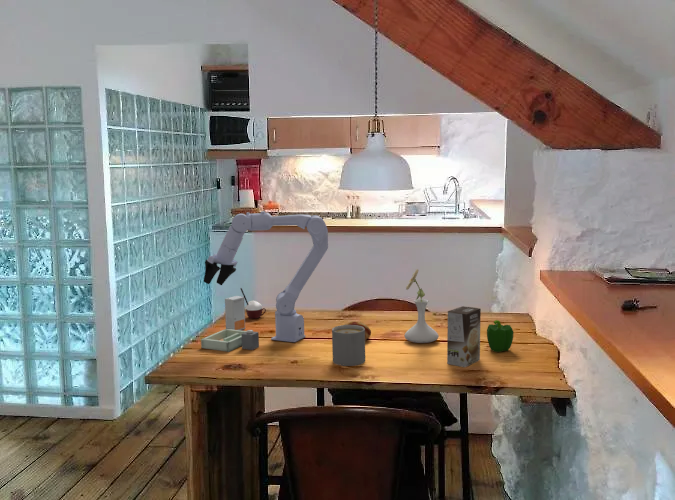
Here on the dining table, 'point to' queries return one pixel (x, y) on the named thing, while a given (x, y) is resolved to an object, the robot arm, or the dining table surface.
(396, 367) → the dining table surface
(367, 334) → the croissant
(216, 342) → the grey-green rectangular frame
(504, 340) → the bell pepper
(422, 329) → the flower in vase
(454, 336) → the coffee box
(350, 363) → the coffee mug
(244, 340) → the grey block with knob
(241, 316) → the skincare box
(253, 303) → the cocoa
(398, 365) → the dining table surface
